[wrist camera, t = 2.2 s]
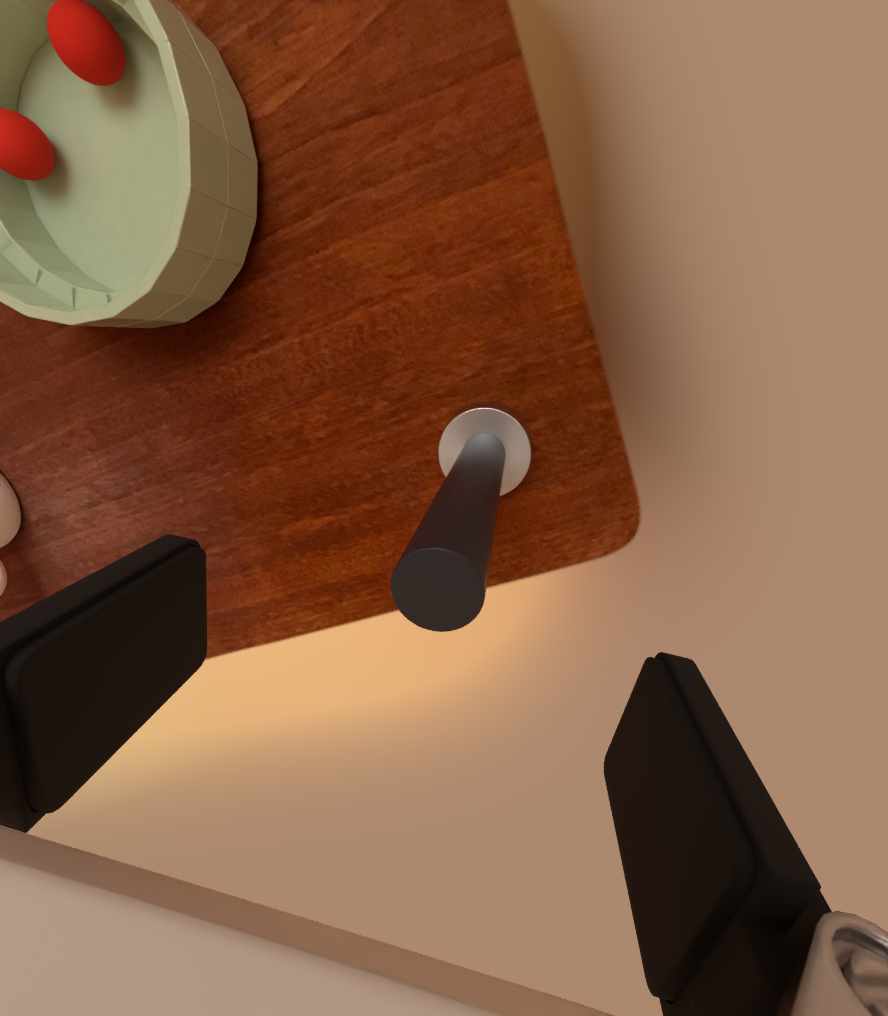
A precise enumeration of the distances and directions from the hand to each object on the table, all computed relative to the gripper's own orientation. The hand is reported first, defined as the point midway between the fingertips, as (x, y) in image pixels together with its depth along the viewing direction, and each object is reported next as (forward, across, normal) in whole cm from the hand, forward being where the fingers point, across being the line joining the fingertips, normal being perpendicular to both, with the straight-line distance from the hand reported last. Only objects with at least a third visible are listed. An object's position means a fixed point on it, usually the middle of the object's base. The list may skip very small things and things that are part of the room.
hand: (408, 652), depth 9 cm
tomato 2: (+18, +23, -16) cm, 33 cm away
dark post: (+20, 0, 0) cm, 20 cm away
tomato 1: (+18, +27, -11) cm, 35 cm away
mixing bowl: (+20, +23, -12) cm, 32 cm away
